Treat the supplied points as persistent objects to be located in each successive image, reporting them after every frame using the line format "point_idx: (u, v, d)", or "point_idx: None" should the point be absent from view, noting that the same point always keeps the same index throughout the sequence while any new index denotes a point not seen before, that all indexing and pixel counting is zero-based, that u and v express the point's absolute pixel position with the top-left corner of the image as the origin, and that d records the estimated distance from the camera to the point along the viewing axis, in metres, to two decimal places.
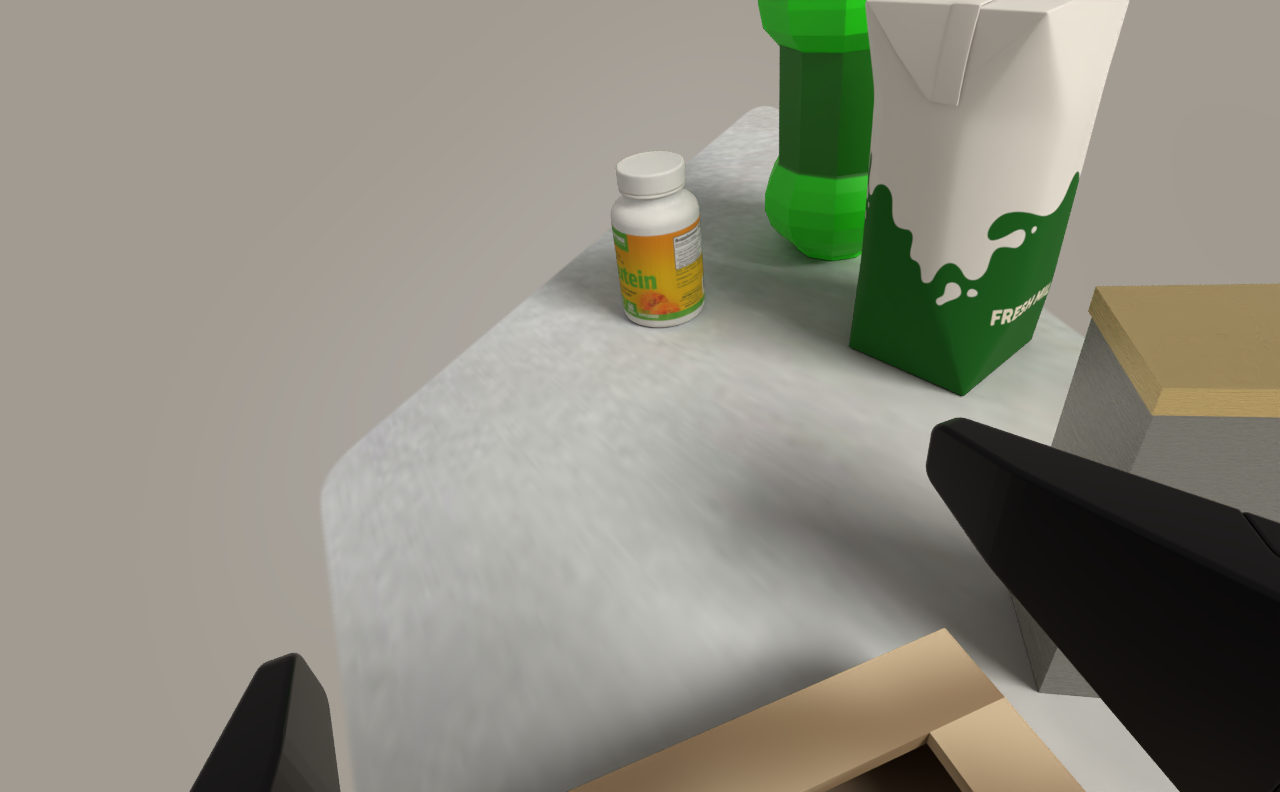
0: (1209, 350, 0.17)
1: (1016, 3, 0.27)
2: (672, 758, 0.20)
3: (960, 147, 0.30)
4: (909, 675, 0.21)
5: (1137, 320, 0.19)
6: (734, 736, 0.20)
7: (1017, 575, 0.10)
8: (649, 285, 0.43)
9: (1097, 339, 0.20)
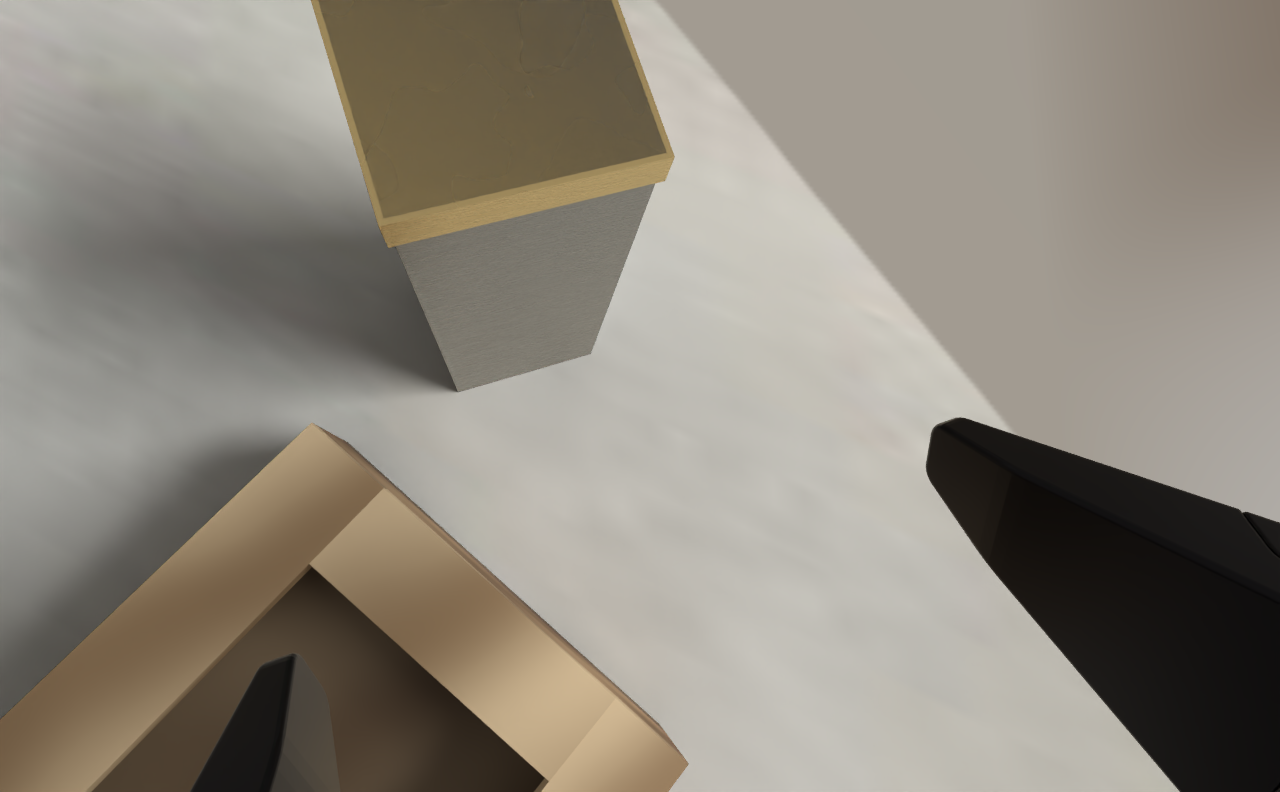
0: (453, 112, 0.11)
1: None
2: (6, 733, 0.16)
3: None
4: (278, 503, 0.18)
5: (356, 48, 0.11)
6: (80, 670, 0.17)
7: (1017, 575, 0.10)
8: None
9: None
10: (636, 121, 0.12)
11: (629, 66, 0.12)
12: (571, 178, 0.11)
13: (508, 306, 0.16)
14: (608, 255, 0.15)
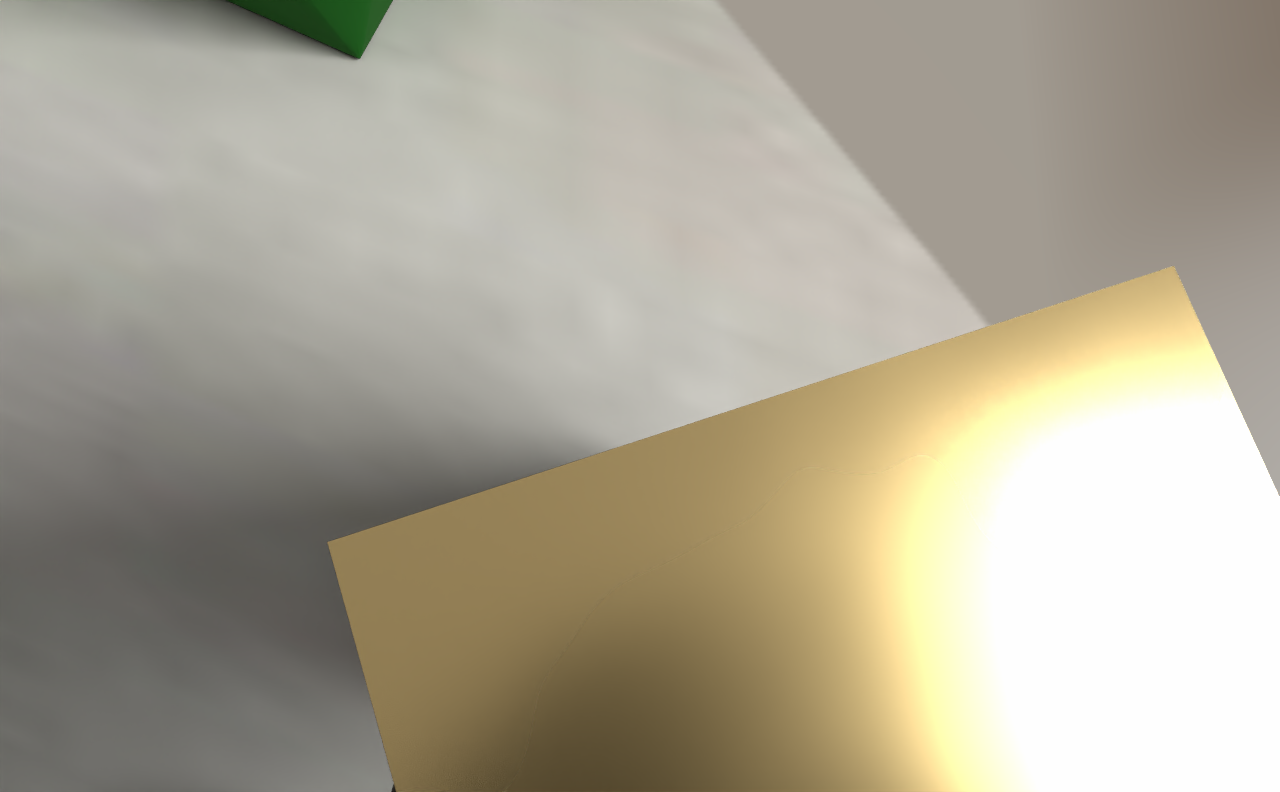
0: None
1: None
2: None
3: None
4: None
5: None
6: None
7: None
8: None
9: None
10: None
11: None
12: None
13: None
14: None
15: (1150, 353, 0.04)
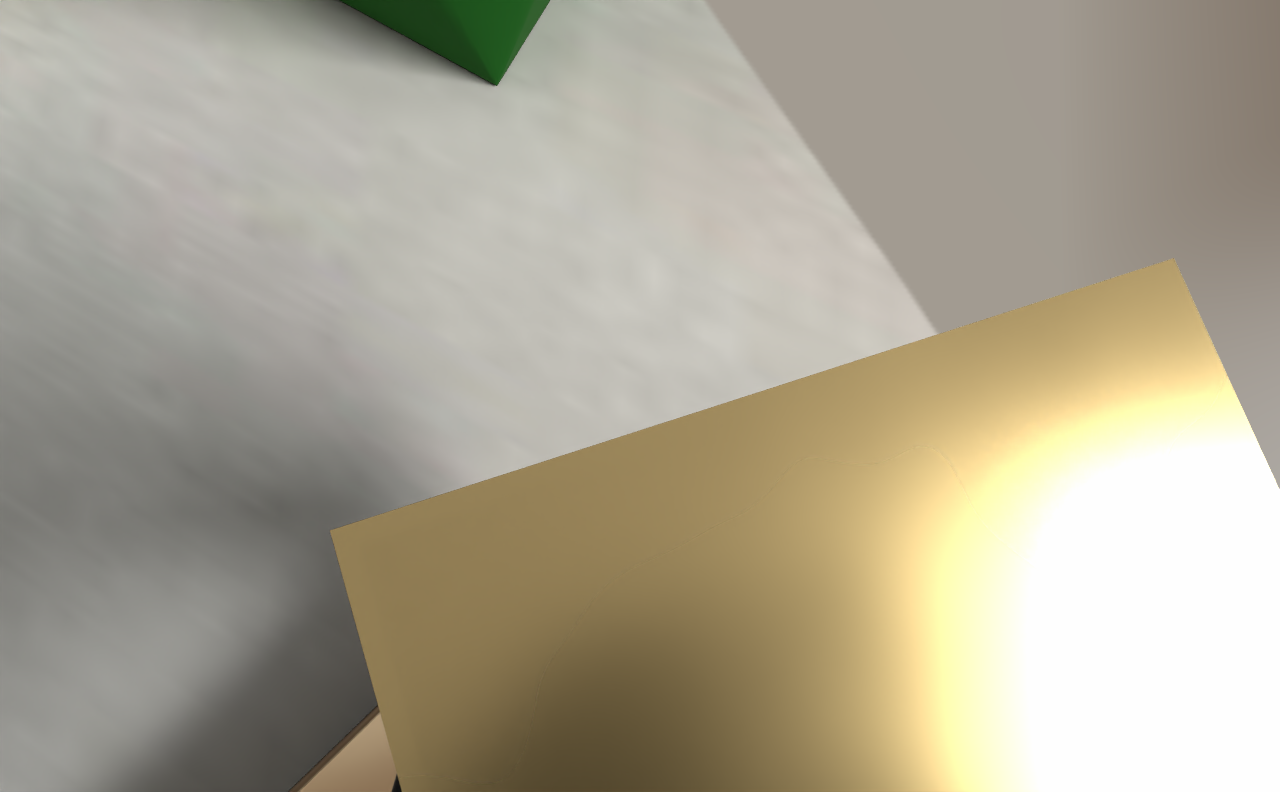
0: None
1: None
2: None
3: None
4: None
5: None
6: None
7: None
8: None
9: None
10: None
11: None
12: None
13: None
14: None
15: (1150, 345, 0.04)
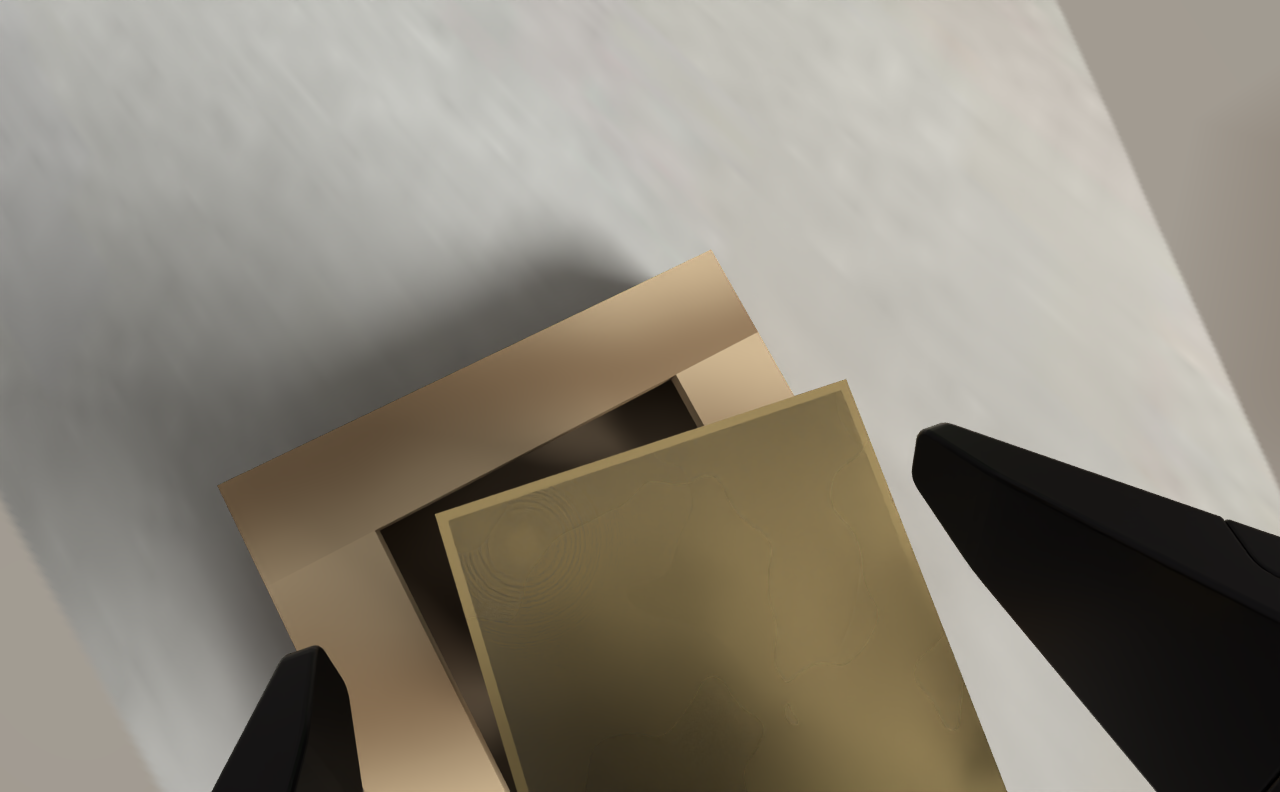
0: (682, 771, 0.07)
1: None
2: (383, 421, 0.17)
3: None
4: (663, 309, 0.18)
5: (532, 677, 0.07)
6: (458, 391, 0.17)
7: (1002, 581, 0.10)
8: None
9: None
10: (949, 743, 0.08)
11: (931, 645, 0.08)
12: None
13: None
14: None
15: (828, 424, 0.08)
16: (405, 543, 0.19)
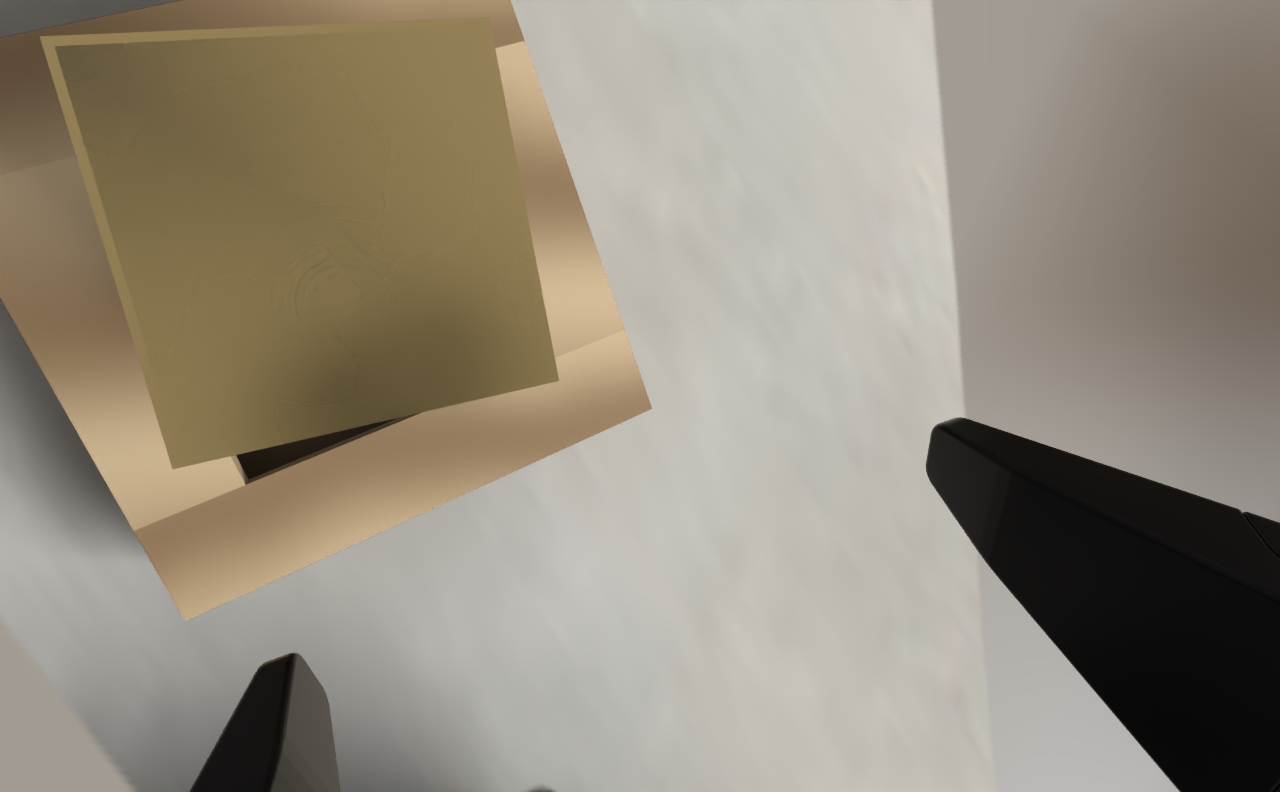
0: (282, 313, 0.09)
1: None
2: None
3: None
4: None
5: (141, 209, 0.08)
6: (182, 24, 0.16)
7: (1017, 575, 0.10)
8: None
9: None
10: (520, 334, 0.10)
11: (521, 259, 0.10)
12: (432, 404, 0.09)
13: None
14: None
15: (465, 54, 0.09)
16: None
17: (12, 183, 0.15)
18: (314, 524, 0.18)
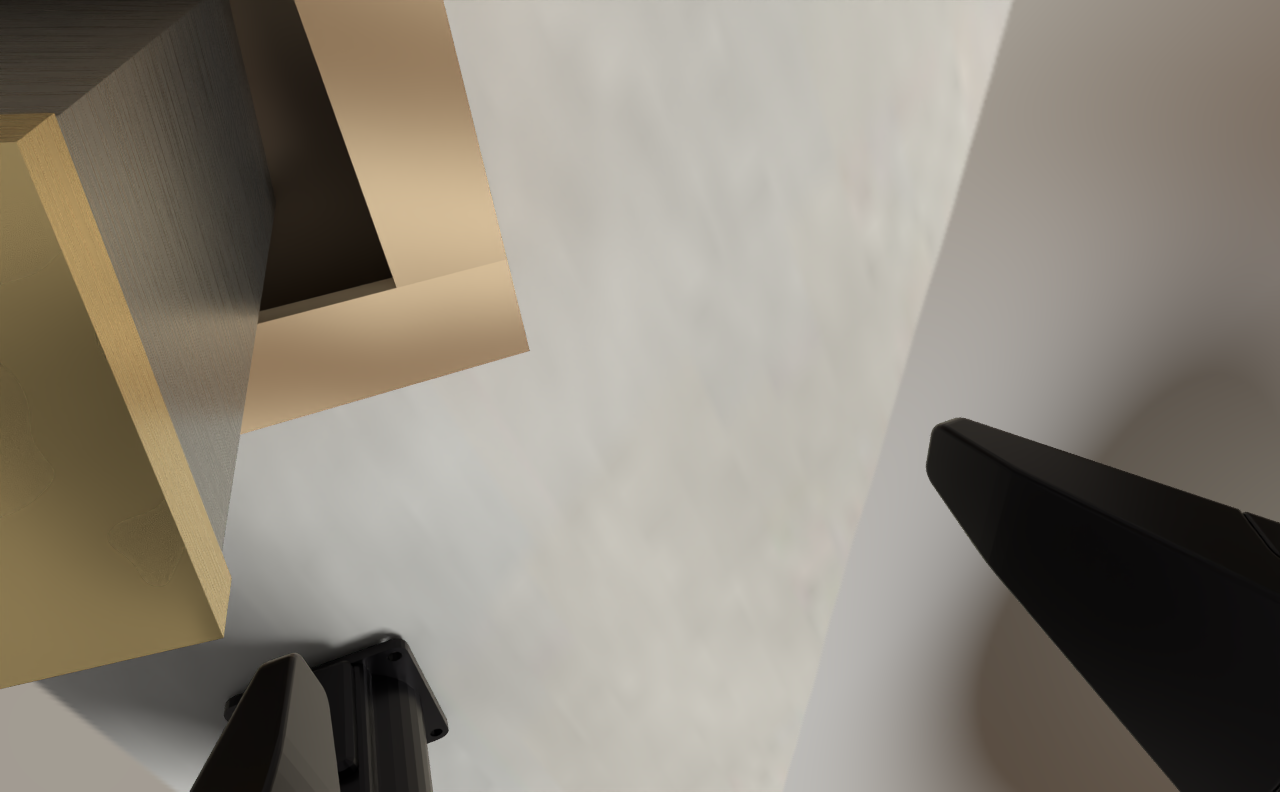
0: None
1: None
2: None
3: None
4: None
5: None
6: None
7: (1017, 575, 0.10)
8: None
9: None
10: (150, 596, 0.06)
11: (141, 512, 0.06)
12: (9, 677, 0.06)
13: None
14: None
15: None
16: None
17: None
18: None
